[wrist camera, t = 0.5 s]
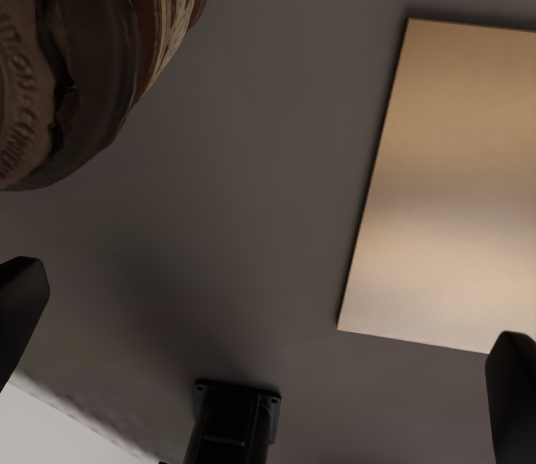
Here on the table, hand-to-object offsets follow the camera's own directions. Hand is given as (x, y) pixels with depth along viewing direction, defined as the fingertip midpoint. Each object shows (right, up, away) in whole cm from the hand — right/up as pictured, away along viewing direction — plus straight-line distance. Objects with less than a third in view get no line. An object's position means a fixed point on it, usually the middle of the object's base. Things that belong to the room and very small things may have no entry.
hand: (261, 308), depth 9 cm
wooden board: (+15, +1, +14) cm, 21 cm away
